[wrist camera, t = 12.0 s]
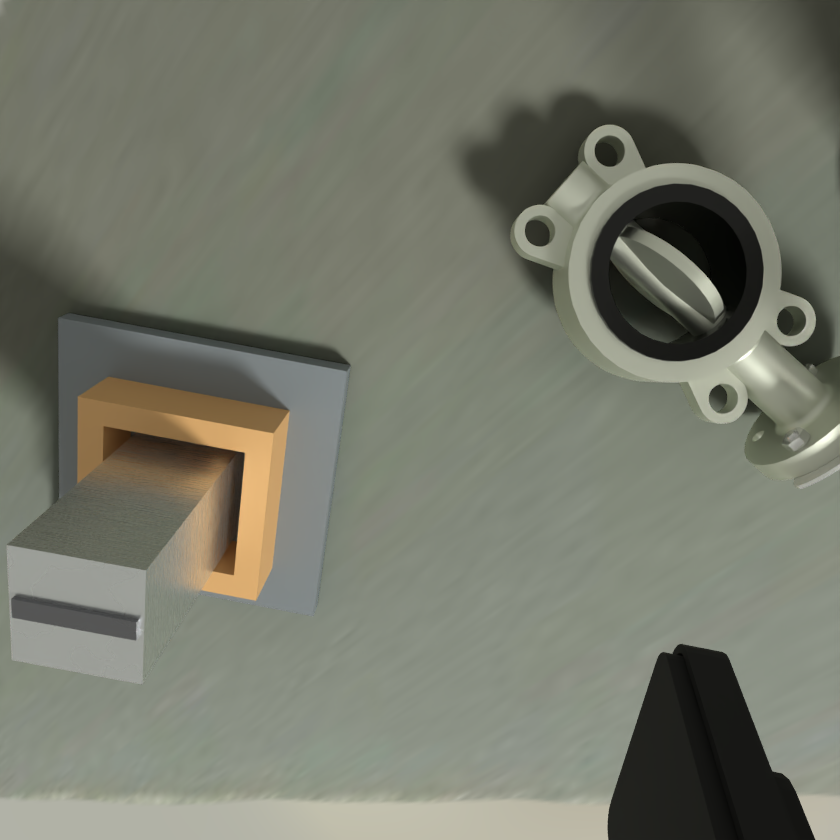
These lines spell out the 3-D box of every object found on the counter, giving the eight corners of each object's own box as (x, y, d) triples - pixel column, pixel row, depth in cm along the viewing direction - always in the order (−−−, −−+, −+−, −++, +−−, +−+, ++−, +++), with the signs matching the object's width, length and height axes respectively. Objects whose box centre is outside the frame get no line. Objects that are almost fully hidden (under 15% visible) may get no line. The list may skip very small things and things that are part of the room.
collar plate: (350, 365, 37) (335, 391, 34) (317, 605, 42) (300, 651, 39) (68, 313, 38) (22, 333, 34) (68, 557, 43) (28, 599, 39)
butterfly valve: (473, 266, 35) (747, 513, 36) (604, 125, 15) (1201, 685, 16) (600, 121, 35) (869, 374, 36) (902, -217, 15) (1475, 376, 16)
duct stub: (246, 440, 38) (143, 573, 27) (239, 528, 40) (140, 687, 29) (147, 422, 38) (3, 547, 27) (145, 510, 40) (8, 663, 29)
